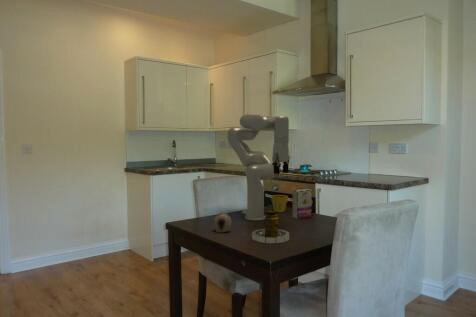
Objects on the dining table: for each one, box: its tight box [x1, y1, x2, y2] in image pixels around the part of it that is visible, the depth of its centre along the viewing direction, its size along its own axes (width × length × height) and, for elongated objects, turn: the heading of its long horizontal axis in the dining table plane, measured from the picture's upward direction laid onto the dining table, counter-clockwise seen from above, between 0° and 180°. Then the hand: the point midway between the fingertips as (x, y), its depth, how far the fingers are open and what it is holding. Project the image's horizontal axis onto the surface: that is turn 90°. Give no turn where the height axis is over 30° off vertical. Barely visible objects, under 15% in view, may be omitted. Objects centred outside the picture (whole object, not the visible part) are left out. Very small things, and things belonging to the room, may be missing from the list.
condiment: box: [262, 210, 280, 237], centre depth 175 cm, size 7×8×12 cm
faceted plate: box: [251, 228, 290, 244], centre depth 175 cm, size 17×17×2 cm
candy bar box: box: [292, 188, 313, 220], centre depth 221 cm, size 11×5×16 cm, turn 120°
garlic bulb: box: [213, 212, 233, 233], centre depth 188 cm, size 9×8×10 cm
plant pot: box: [270, 194, 289, 213], centre depth 240 cm, size 10×10×10 cm
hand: (281, 173), depth 197 cm, fingers open, 9 cm apart
